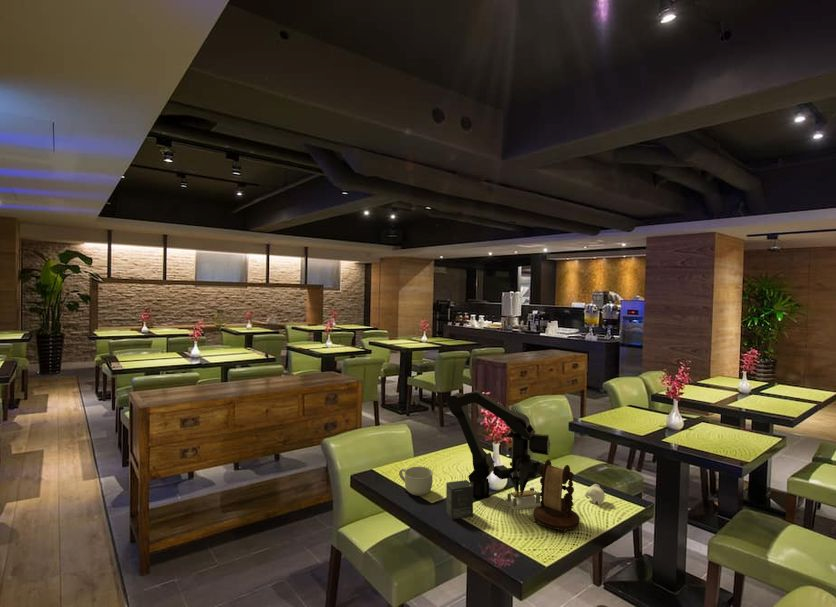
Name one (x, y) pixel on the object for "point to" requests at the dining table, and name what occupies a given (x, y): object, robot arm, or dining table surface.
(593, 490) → the elephant figurine
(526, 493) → the strap
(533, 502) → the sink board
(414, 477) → the teacup
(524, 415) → the robot arm
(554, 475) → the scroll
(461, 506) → the box
